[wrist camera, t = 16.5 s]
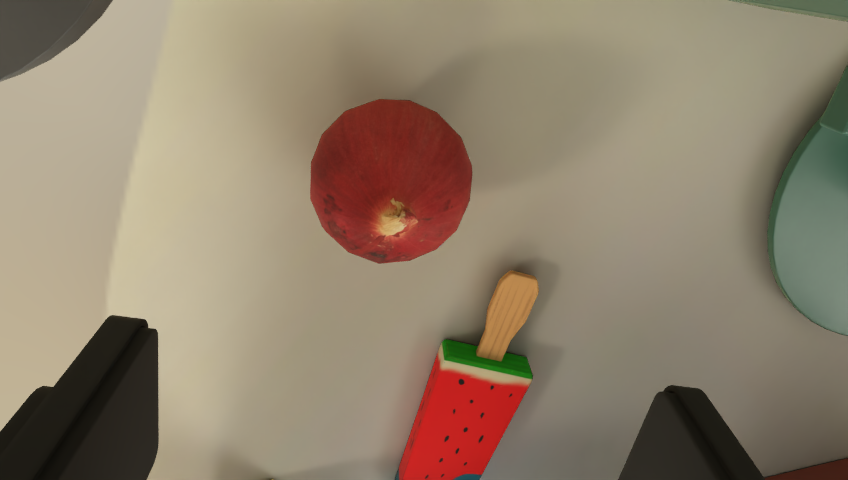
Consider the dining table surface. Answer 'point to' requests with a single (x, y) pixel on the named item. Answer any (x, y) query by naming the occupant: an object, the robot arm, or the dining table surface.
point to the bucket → (817, 472)
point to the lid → (813, 229)
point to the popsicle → (472, 392)
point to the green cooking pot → (844, 107)
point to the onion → (390, 180)
